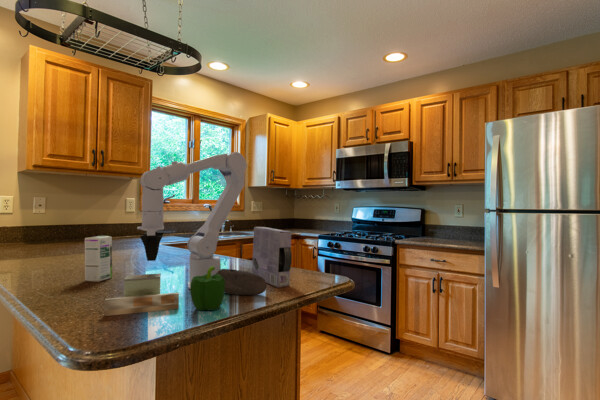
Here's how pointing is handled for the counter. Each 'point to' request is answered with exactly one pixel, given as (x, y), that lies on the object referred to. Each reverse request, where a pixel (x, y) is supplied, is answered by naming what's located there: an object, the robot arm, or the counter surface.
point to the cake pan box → (272, 255)
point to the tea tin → (142, 285)
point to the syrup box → (98, 258)
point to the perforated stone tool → (242, 282)
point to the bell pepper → (207, 291)
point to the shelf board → (141, 304)
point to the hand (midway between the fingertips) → (152, 258)
